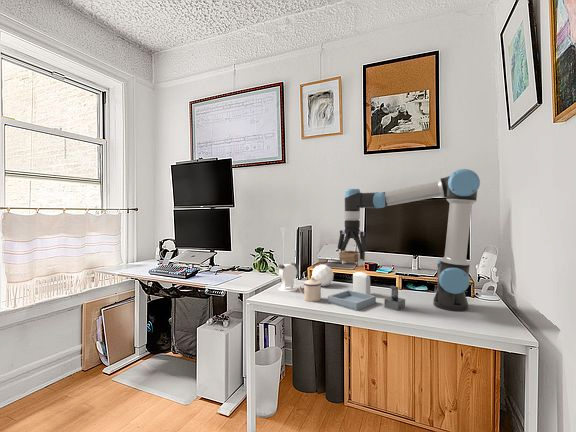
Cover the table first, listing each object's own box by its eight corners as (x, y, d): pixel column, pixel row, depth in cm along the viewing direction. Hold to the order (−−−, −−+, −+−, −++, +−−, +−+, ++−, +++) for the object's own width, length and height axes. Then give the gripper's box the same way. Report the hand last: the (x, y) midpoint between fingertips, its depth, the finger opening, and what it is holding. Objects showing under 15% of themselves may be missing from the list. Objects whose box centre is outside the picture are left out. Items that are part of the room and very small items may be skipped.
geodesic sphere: (321, 281, 183) (329, 260, 189) (303, 277, 193) (311, 258, 198) (332, 292, 192) (340, 272, 197) (315, 288, 201) (323, 269, 207)
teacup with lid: (323, 298, 168) (323, 276, 168) (317, 302, 160) (317, 280, 160) (302, 295, 173) (302, 274, 173) (296, 300, 165) (296, 277, 165)
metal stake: (405, 307, 152) (405, 286, 152) (398, 310, 147) (398, 289, 147) (391, 304, 157) (391, 284, 157) (384, 307, 152) (384, 286, 152)
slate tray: (375, 303, 159) (375, 296, 159) (356, 310, 148) (356, 303, 147) (347, 296, 172) (347, 289, 171) (328, 303, 160) (328, 296, 160)
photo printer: (351, 293, 178) (351, 271, 178) (356, 291, 181) (356, 270, 180) (366, 297, 170) (366, 274, 170) (371, 295, 173) (371, 273, 172)
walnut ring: (354, 262, 153) (354, 254, 152) (339, 260, 159) (339, 252, 159) (366, 260, 160) (366, 252, 160) (351, 257, 166) (351, 250, 166)
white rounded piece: (289, 285, 196) (289, 261, 195) (302, 289, 187) (301, 264, 186) (274, 288, 188) (274, 263, 188) (286, 292, 179) (286, 266, 179)
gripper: (375, 220, 153) (375, 266, 154) (339, 219, 169) (339, 260, 169) (366, 220, 148) (366, 268, 149) (330, 219, 164) (330, 262, 164)
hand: (352, 264), depth 159 cm, fingers closed on walnut ring, 9 cm apart
